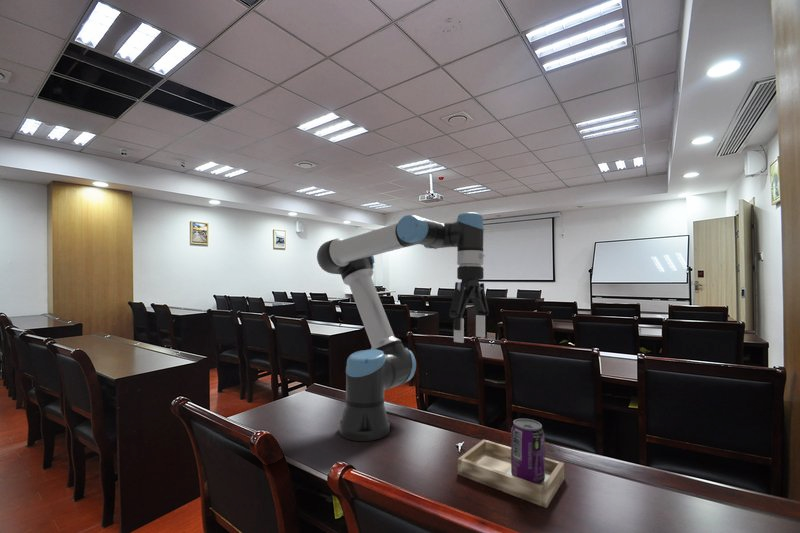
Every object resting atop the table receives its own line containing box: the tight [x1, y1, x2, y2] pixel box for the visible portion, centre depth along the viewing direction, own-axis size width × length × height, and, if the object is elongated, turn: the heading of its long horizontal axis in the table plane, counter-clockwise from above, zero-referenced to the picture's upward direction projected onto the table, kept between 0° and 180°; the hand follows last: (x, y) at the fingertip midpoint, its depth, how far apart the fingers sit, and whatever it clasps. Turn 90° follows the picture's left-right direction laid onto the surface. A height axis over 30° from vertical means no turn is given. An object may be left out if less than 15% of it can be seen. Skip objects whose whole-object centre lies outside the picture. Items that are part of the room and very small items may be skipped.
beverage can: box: [510, 418, 546, 484], centre depth 80 cm, size 7×7×12 cm
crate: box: [457, 439, 565, 509], centre depth 82 cm, size 20×14×4 cm
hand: (470, 339), depth 103 cm, fingers open, 13 cm apart
